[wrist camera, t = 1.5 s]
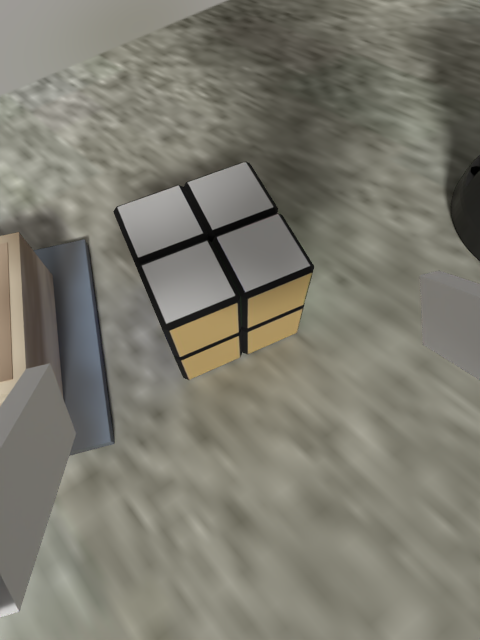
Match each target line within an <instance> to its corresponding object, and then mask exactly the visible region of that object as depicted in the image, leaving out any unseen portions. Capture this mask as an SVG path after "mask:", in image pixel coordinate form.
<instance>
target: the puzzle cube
mask: <svg viewBox="0 0 480 640" xmlns="http://www.w3.org/2000/svg"><path fill="white" fill-rule="evenodd" d="M277 212H278V208H277V206H276V205H275V203H274V201H273V200H272V198H271V197H270V195H269V193H268V192H267V190H266V189H265V187H264V185H263V184H262V182H261V180H260V179H259V177H258V176H257V174H256V172H255V171H254V169H253V168H252V166H251V164H250V163H248V162H242V163H239V164H237V165H234V166H231V167H228V168H225V169H222V170H220V171H217V172H214V173H211V174H208V175H206V176H203V177H200V178H197V179H194V180H191V181H189V182H186V184H185V186H184V187H182V186H179V185H177V186H174V187H171V188H168V189H165V190H163V191H160V192H157V193H154V194H151V195H148V196H146V197H143V198H140V199H137V200H134V201H131V202H129V203H126V204H123V205H120V206H117V207H116V208H115V210H114V214H115V217H116V219H117V221H118V224H119V226H120V229H121V231H122V234H123V236H124V238H125V241H126V243H127V246H128V248H129V250H130V253H131V255H132V258H133V260H134V262H135V265H136V267H137V269H138V272H139V274H140V277H141V279H142V282H143V284H144V286H145V289H146V291H147V294H148V296H149V298H150V301H151V303H152V306H153V308H154V310H155V313H156V315H157V318H158V320H159V322H160V325H161V327H162V330H163V332H164V334H165V337H166V339H167V341H168V343H169V346H170V348H171V350H172V353H173V355H174V357H175V360H176V362H177V364H178V366H179V369H180V371H181V373H182V375H183V378H185V379H188V380H190V379H192V378H195V377H197V376H199V375H201V374H204V373H206V372H208V371H210V370H213V369H215V368H217V367H220V366H222V365H224V364H226V363H229V362H231V361H233V360H236V359H238V358H240V357H241V354H242V352H243V353H246V354H249V353H252V352H254V351H256V350H259V349H261V348H263V347H265V346H268V345H270V344H272V343H274V342H277V341H279V340H281V339H284V338H286V337H288V336H290V335H293V334H295V333H297V330H298V327H299V323H300V319H301V315H302V311H303V307H304V304H305V303H304V302H305V299H306V295H307V292H308V288H309V284H310V280H311V277H312V273H313V269H314V265H313V264H312V262H311V261H310V259H309V257H308V256H307V254H306V253H305V251H304V249H303V248H302V246H301V245H300V243H299V241H298V240H297V238H296V237H295V235H294V233H293V232H292V230H291V228H290V227H289V225H288V224H287V222H286V220H285V219H284V217H283V216H282V215H280V214H277Z"/></svg>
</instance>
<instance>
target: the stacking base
mask: <svg viewBox="0 0 480 640" xmlns="http://www.w3.org/2000/svg"><path fill="white" fill-rule="evenodd" d="M49 363H50V365H51V367H52V370H53V373H54V375H55V378H56V381H57V384H58V386H59V389H60V392H61V394H62V397H63V400H64V402H65V405H66V408H67V410H68V413H69V416H70V419H71V421H72V424H73V427H74V429H75V432H76V435H75V439H74V442H73V445H72V448H71V451H70V454H69V456H70V455H74V454H77V453H81V452H85V451H89V450H93V449H96V448H100V447H104V446H108V445H112V444H114V436H113V429H112V421H111V414H110V406H109V399H108V391H107V384H106V376H105V369H104V361H103V354H102V346H101V339H100V331H99V324H98V316H97V309H96V301H95V294H94V286H93V279H92V271H91V264H90V256H89V249H88V245H87V243H86V241H85V240H79V241H75V242H70V243H65V244H61V245H56V246H52V247H47V248H42V249H38V250H32V248H31V247H30V246H29V244H28V243H27V242H26V241H25V239H24V238H23V237H22V235H21V234H20V233H19V232H17V233H12V234H8V235H3V236H0V406H1V405H2V403H3V402H4V400H5V399H6V397H7V396H8V394H9V393H10V392H11V390H12V389H13V387H14V386H15V384H16V383H17V381H18V380H19V378H20V377H21V376H22V374H23V373H24V371H25V370H26V369H28V368H32V367H36V366H40V365H45V364H49Z"/></svg>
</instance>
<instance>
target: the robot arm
mask: <svg viewBox="0 0 480 640" xmlns="http://www.w3.org/2000/svg"><path fill="white" fill-rule="evenodd" d="M451 210H452V217H453V221H454V224H455V227H456V230H457V232H458V234H459V236H460V237H461V239H462V241H463V242H464V244H465V245H466V246H467V248H468V249H469V250H470V251H471V252H472V253H473V254H474V255H475V256H476V257H477V258H478V259H479V260H480V155H479V156H478V157H477V158H476V159H475V160H474V161H473V162H472V163H471V164H470V166H469V167H468V168H467V170H466V171H465V173H464V175H463V176H462V178H461V179H460V181H459V183H458V184H457V186H456V188H455V190H454V193H453V197H452V204H451ZM420 292H421V314H422V336H423V345H425V346H426V347H428V348H429V349H431V350H432V351H434V352H436V353H437V354H439V355H440V356H442V357H444V358H445V359H447V360H448V361H450V362H452V363H453V364H455V365H456V366H458V367H460V368H461V369H463V370H464V371H466V372H468V373H469V374H471V375H472V376H474V377H476V378H477V379H479V380H480V284H479V283H476V282H473V281H470V280H467V279H464V278H460V277H457V276H454V275H451V274H448V273H445V272H442V271H435V272H431V273H427V274H423V275H420ZM75 435H76V432H75V429H74V427H73V424H72V421H71V419H70V416H69V413H68V410H67V408H66V405H65V402H64V400H63V397H62V394H61V392H60V389H59V386H58V384H57V381H56V378H55V375H54V373H53V370H52V367H51V365H50V363H49V364H45V365H40V366H36V367H32V368H28V369H26V370H25V371H24V373H23V374H22V376H21V377H20V378H19V380H18V381H17V383H16V384H15V386H14V387H13V389H12V390H11V392H10V393H9V394H8V396H7V397H6V399H5V400H4V402H3V403H2V405H1V406H0V617H3V616H6V615H9V614H13V613H16V612H19V611H20V608H21V605H22V601H23V598H24V595H25V592H26V589H27V586H28V583H29V580H30V576H31V573H32V570H33V567H34V564H35V561H36V558H37V554H38V551H39V548H40V545H41V542H42V539H43V536H44V533H45V529H46V526H47V523H48V520H49V517H50V514H51V511H52V507H53V504H54V501H55V498H56V495H57V492H58V489H59V486H60V482H61V479H62V476H63V473H64V470H65V467H66V464H67V461H68V457H69V454H70V451H71V448H72V445H73V442H74V439H75Z"/></svg>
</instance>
